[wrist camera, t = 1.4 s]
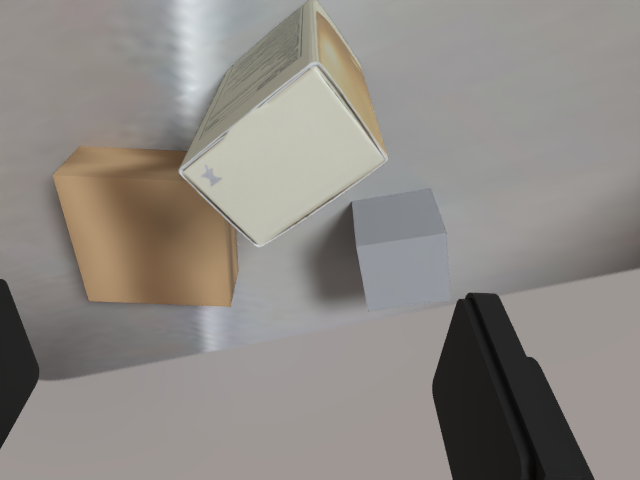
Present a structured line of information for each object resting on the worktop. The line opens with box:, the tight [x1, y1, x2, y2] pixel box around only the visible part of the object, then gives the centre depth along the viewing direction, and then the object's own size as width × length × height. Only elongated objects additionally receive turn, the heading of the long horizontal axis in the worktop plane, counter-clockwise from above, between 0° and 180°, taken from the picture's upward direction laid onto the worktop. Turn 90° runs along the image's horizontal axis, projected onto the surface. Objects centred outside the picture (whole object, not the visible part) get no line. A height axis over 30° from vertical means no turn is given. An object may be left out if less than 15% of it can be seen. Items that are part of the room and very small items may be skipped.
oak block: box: [53, 146, 238, 307], centre depth 31 cm, size 9×9×4 cm
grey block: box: [352, 188, 451, 311], centre depth 31 cm, size 5×5×5 cm
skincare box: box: [179, 0, 388, 247], centre depth 22 cm, size 6×4×12 cm
